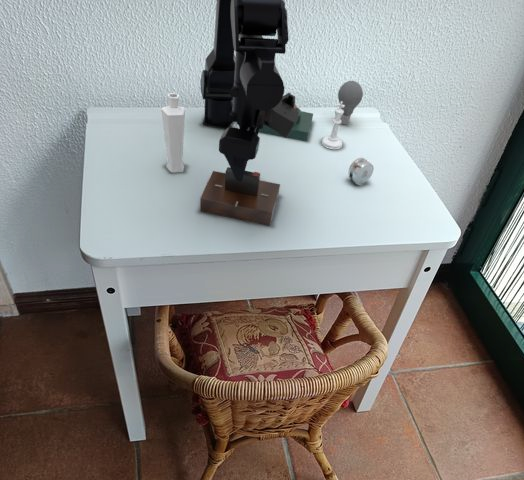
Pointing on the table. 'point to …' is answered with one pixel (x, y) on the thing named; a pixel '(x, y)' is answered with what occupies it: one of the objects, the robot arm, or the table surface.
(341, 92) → the light bulb
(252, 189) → the knob
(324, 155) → the table surface
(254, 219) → the panel
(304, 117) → the button box
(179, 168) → the perfume bottle
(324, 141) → the chess piece
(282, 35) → the robot arm
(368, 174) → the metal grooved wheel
